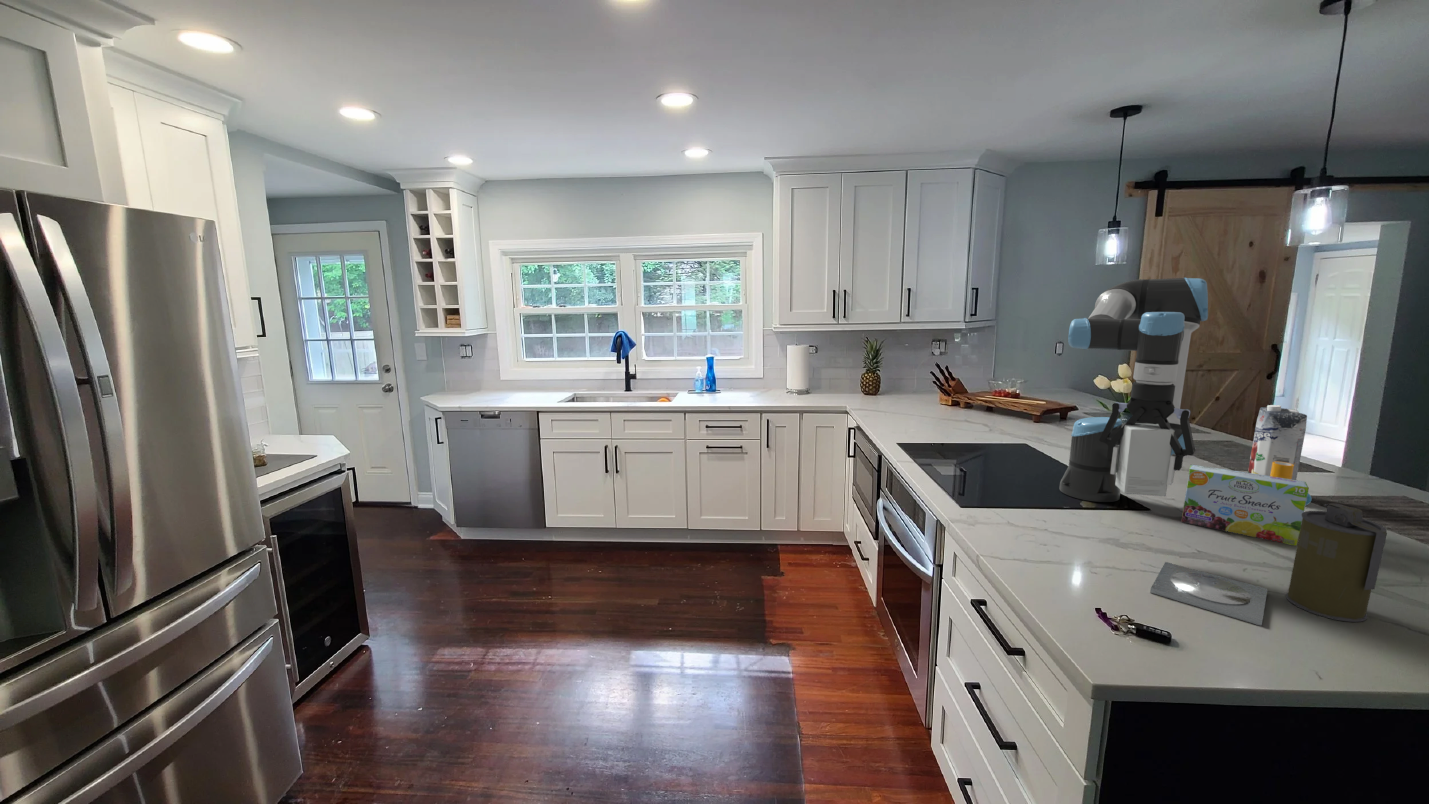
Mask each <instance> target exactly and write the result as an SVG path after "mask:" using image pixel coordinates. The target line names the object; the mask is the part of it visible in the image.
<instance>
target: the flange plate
mask: <svg viewBox="0 0 1429 804" xmlns="http://www.w3.org/2000/svg"><path fill="white" fill-rule="evenodd" d="M1150 594H1153V595H1157V596H1160V597H1163V598H1167V599H1171V600H1174V601H1177V602H1179V603H1184V604H1187V605H1190V606H1192V607H1193V606H1194V607H1197V608H1200V609H1204V610H1208V611H1209V612H1214V613H1217V614H1220V615H1224V616H1227V617H1230V618H1233V619H1236V620H1240V621H1243V622H1246V623H1250V624H1253V625H1256V626H1261V627H1262V625H1263V620H1264V615H1265V607H1266V601H1267V595H1268V588H1266V587H1262V586H1259V585H1254V584H1251V583H1247V582H1243V581H1240V580H1235V579H1232V578H1228V577H1224V576H1220V575H1216V574H1212V573H1209V572H1204V571H1201V570H1198V569H1193V568H1189V567H1186V566H1182V565H1178V564H1175V563H1171V562H1167V561H1165V562H1164V563H1163V565H1162V567H1161V569H1160V571H1159V573H1158V575H1157V576H1156V578H1155V580H1154V582H1153V583H1152V584H1151V586H1150Z"/></svg>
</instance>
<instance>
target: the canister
mask: <svg viewBox="0 0 1429 804" xmlns="http://www.w3.org/2000/svg"><path fill="white" fill-rule="evenodd" d="M1323 507H1324V508H1325V507H1326V511H1323V510H1307V511H1304V512H1303V513H1302V518H1303V519H1302V524H1301V529H1300V534H1299V539H1298V543H1297V546H1296V549H1295V555H1294V560H1293V566H1292V570H1291V577H1290V582H1289V585H1288V590H1287V592H1286V594H1285V597H1286V599H1287V601H1289V602H1290V604H1293V605H1294V606H1296V607H1297V608H1299V609H1302V610H1304V611H1305V612H1308V613H1311V614H1314V615H1317V616H1319V617H1322V618H1326V619H1330V620H1334V621H1342V622H1349V623H1361V622H1364V621H1367V618H1368V614H1367V612H1368V606H1369V603H1370V597H1371V593H1372V590H1373V591H1374V590H1375V588H1376V584H1377V579H1378V575H1379V570H1380V566H1381V563H1382V562H1381V561H1382V557H1383V553H1384V549H1385V548H1384V547H1385V544H1386V540H1387V537H1388V535H1387V534H1388V533H1387V529H1386V527H1384V526H1383V525H1382V524H1379V523H1377V522H1375V521H1372V520H1369V519H1366V518H1363V510H1362V509H1359V508H1356V507H1350V506H1347V505H1344V504H1341V503H1325V504H1323Z"/></svg>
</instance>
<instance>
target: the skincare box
mask: <svg viewBox="0 0 1429 804" xmlns="http://www.w3.org/2000/svg"><path fill="white" fill-rule="evenodd" d="M1126 423H1127V422H1122V427H1123V426H1124V425H1125V424H1126ZM1174 432H1175V431H1174V430H1173V429H1170V430H1168V429H1161V428H1160V426H1159V424H1141V423H1135V424H1133V425H1125V426H1124V435H1123V436H1122V437H1121V439H1120V446H1119V455H1118V464H1117V472H1116V482H1115V485H1116V486H1117V487H1118V488H1119V489H1120V492H1122V493H1123V494H1124V495H1125V494H1126V495H1141V496H1142V495H1143V496H1154V497H1155V496H1157V497H1167V491H1168V484H1167V478H1168V471H1169V464H1170V457H1171V451H1172V447H1171V445H1170V439H1171V434H1172V435H1173V436H1174Z"/></svg>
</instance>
